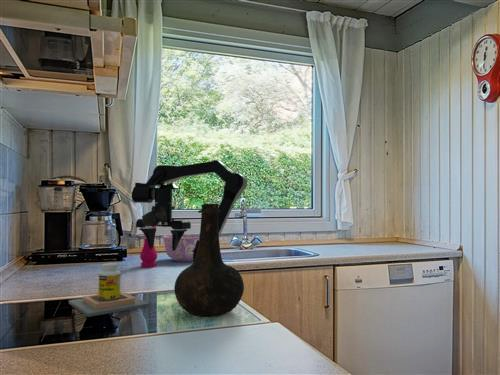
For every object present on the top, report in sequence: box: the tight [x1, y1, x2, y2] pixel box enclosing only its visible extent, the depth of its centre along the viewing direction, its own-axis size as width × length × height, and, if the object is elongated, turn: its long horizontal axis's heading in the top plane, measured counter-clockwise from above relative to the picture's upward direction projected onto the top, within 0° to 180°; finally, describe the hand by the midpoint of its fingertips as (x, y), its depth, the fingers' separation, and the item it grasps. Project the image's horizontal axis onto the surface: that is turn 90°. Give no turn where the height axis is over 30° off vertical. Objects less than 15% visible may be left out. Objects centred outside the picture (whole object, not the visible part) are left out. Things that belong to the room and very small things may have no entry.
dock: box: [68, 291, 150, 318], centre depth 108 cm, size 16×16×2 cm
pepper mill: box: [139, 226, 158, 269], centre depth 171 cm, size 7×7×20 cm
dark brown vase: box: [173, 203, 245, 318], centre depth 102 cm, size 18×18×28 cm
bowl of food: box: [162, 233, 200, 263], centre depth 190 cm, size 20×20×12 cm
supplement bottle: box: [98, 262, 121, 302], centre depth 109 cm, size 6×6×10 cm
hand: (162, 249), depth 133 cm, fingers open, 9 cm apart
